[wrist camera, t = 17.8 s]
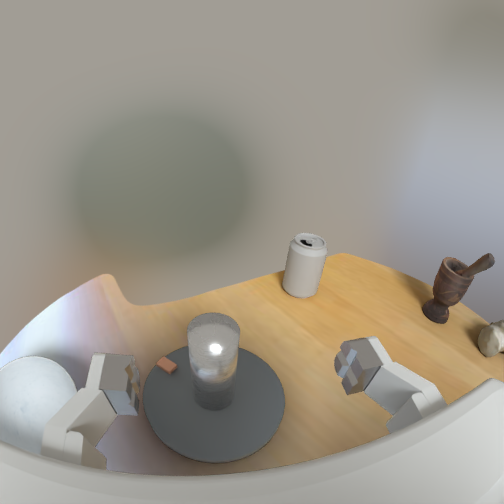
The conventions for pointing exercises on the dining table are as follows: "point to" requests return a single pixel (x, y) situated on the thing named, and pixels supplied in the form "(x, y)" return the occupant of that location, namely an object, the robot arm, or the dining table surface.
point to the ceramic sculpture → (492, 339)
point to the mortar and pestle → (452, 285)
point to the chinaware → (31, 399)
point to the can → (304, 265)
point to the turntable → (213, 422)
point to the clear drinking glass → (213, 359)
